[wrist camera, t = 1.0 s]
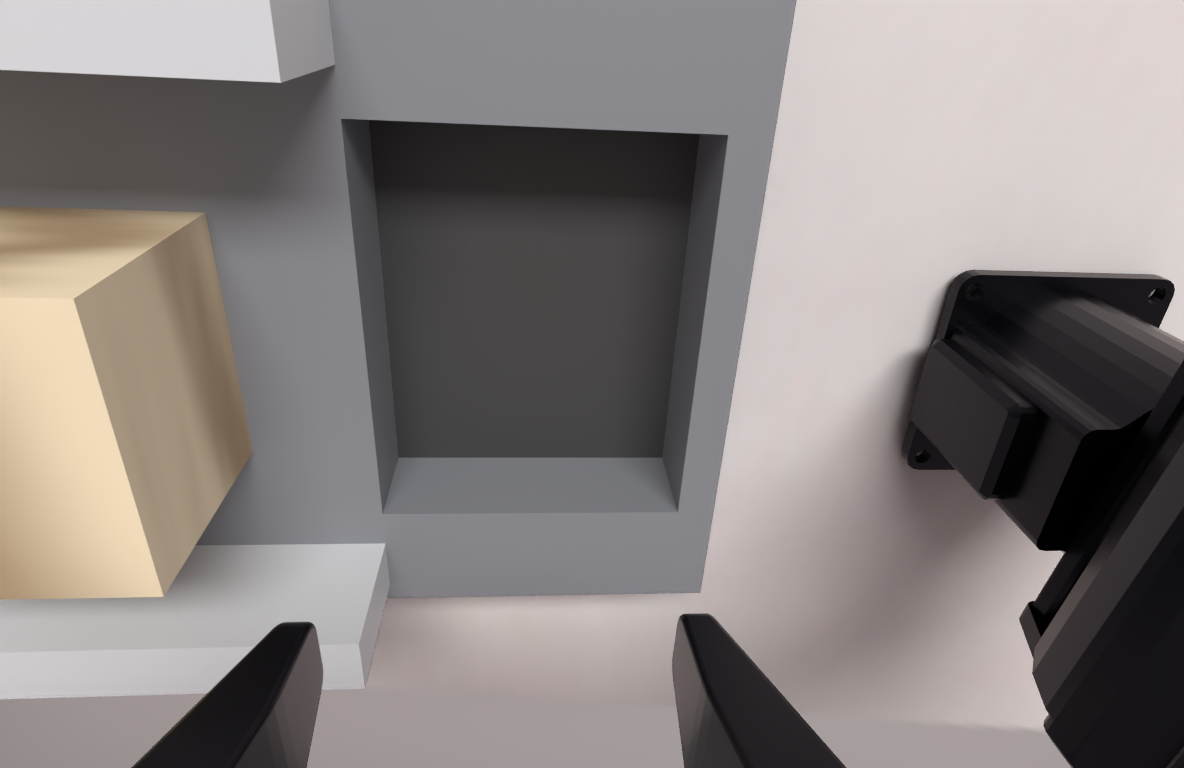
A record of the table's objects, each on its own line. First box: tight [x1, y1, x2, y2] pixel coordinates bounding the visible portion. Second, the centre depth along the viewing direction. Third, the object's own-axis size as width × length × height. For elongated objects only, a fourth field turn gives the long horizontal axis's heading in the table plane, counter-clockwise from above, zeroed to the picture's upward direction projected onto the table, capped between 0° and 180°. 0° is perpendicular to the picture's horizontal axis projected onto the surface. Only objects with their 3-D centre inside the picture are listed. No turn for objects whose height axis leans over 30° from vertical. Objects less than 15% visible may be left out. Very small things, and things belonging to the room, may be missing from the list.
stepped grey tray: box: [0, 0, 796, 699], centre depth 16 cm, size 33×16×6 cm, turn 87°
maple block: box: [0, 206, 253, 600], centre depth 14 cm, size 6×6×5 cm
